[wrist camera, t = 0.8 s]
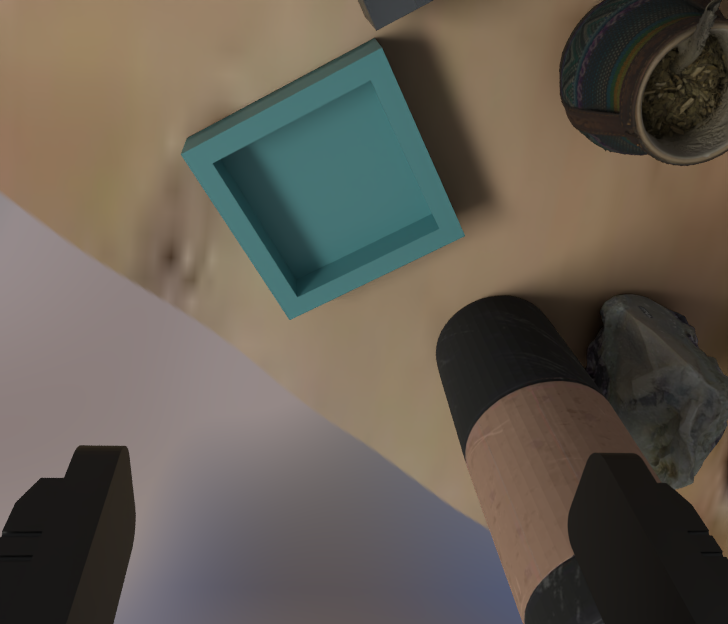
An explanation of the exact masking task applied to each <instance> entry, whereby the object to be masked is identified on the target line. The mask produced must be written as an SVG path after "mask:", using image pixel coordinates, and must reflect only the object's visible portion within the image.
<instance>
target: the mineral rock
mask: <svg viewBox="0 0 728 624" xmlns="http://www.w3.org/2000/svg"><path fill="white" fill-rule="evenodd" d="M600 314H601V316H602V321H603V323H604V326H603V327H602V328H601V330H600V331H599V333H598V334H597V336H596V338H595V340H594V341H592V342H591V343H590V345H589V347H588V349H587V367H586V371H587V373H588V374H589V375H590V377H591V378H592V380H593V381H594V382H595V384H596V385H597V386H598V388H599V389H600V390H601V392H602V393H603V395H604V396H605V397H606V399H607V400H608V402H609V403H610V404H611V406H612V407H613V409H614V411H615V412H616V414H617V415H618V417H619V418H620V420H621V421H622V423H623V424H624V426H625V427H626V429H627V430H628V432H629V433H630V435H631V437H632V438H633V440H634V441H635V443H636V444H637V446H638V447H639V449H640V450H641V452H642V453H643V455H644V456H645V458H646V459H647V461H648V463H649V464H650V466H651V467H652V469H653V470H654V472H655V473H656V475H657V476H658V478H659V479H660V481H661V482H662V483H667V484H668V485H670V486H671V487H672V488H673V489H674V490H675V489H679V488H682V487H685V486H687V485H690V484H692V483H693V481H694V476H695V475H696V474H697V472H698V471H699V469H700V468H701V466H702V464H703V462H704V460H705V459H706V458H707V456H708V455H709V453H710V452H711V451H712V450H713V448H714V447H715V446H716V445H717V443H718V442H719V440H720V439H721V437H722V435H723V433H724V431H725V429H726V427H727V422H726V421H727V419H728V377H727V376H726V375H724V374H723V372H722V371H721V369H720V368H719V366H718V364H717V360H716V359H715V358H714V357H708V356H706V354H705V353H704V352H703V351H702V350H700V349H699V347H698V345H697V343H698V339H697V336H696V333H695V328H694V327H692V326H691V325H689V324H688V322H687V320H686V318H685V316H682V315H681V314H679V313H677V312H674V311H671V310H669V309H667V308H665V307H663V306H661V305H659V304H658V303H656V302H654V301H652V300H650V299H649V298H647V297H643V296H640V295H633V294H624V295H616V296H613V297H612V298H611V299H610V300H608V301H606V302H605V303H604V304H603V306H602V308H601V310H600Z"/></svg>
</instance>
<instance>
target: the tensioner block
mask: <svg viewBox="0 0 728 624" xmlns="http://www.w3.org/2000/svg"><path fill="white" fill-rule="evenodd" d="M431 1H433V0H358V2H359V4H360V6H361V9H362V11H363V13H364V15H365V17H366V18H367V20H368V21H369V22H370V23H371V25H372V26H373V27H374V28H375V29H376V31H377V30H379V29H381V28H382V27H384V26H386V25H388V24H390V23H392V22H394V21H395V20H397V19H399V18H401V17H403V16H405V15H407V14H409V13H410V12H412V11H414V10H416V9H418V8H420V7H422V6H423V5H425V4H427V3H429V2H431Z"/></svg>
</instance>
